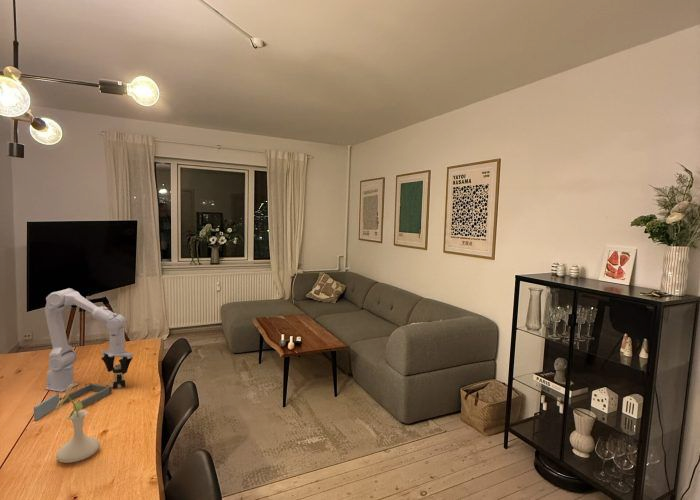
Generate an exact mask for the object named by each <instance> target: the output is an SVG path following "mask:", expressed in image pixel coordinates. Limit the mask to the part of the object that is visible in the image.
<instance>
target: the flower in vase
mask: <svg viewBox="0 0 700 500" xmlns="http://www.w3.org/2000/svg"><path fill="white" fill-rule="evenodd" d="M72 386H73V384H70V386H69V387H68V388H67V390H65V393H64V394H63V395H62V396H61V397H62V400H61V401H60V400H59V403H58V404H57V407H56V408H55V409H54V410H59V409H60V408H61V407H62V406H63V405H62V404H63V402H64V401H65V400H66V399H68V398H69V399H70V402H71V404H72V405H73V406H72V409H73V410H72V411H71V413H70V414H69V415H68V416H67V420H69V419H70V421H71V422H72V425H73V435H72V437H71V439H70V440H68V441H67V442H66V443H65V444H63V445H62V447H60V448H59V449H58V451H57V452H56V455H55V458H56V460H57V461H59V462H60V463H63V464H64V463H65V464H68V463H77V462H79V461H83V460H85V459H88V458H89V457H91V456H93V455H94V454H95V453H97V452H98V450H99V448H100V446H101V443H100V441H99V440H98V439H97V438H95V437H93V436H89V435H85V434H84V430H83V426H84V419H85V417H86V416H87V414H88V410H86V409H85V410H84V408H83V405H82V403H81V402H80V401H81V400H80V399H78V400H77V401H76V402H74V400H72V399H71V398H70V397H69V395H68V394H69V393H71V392H72V388H73V387H72ZM82 408H83V409H82Z"/></svg>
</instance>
